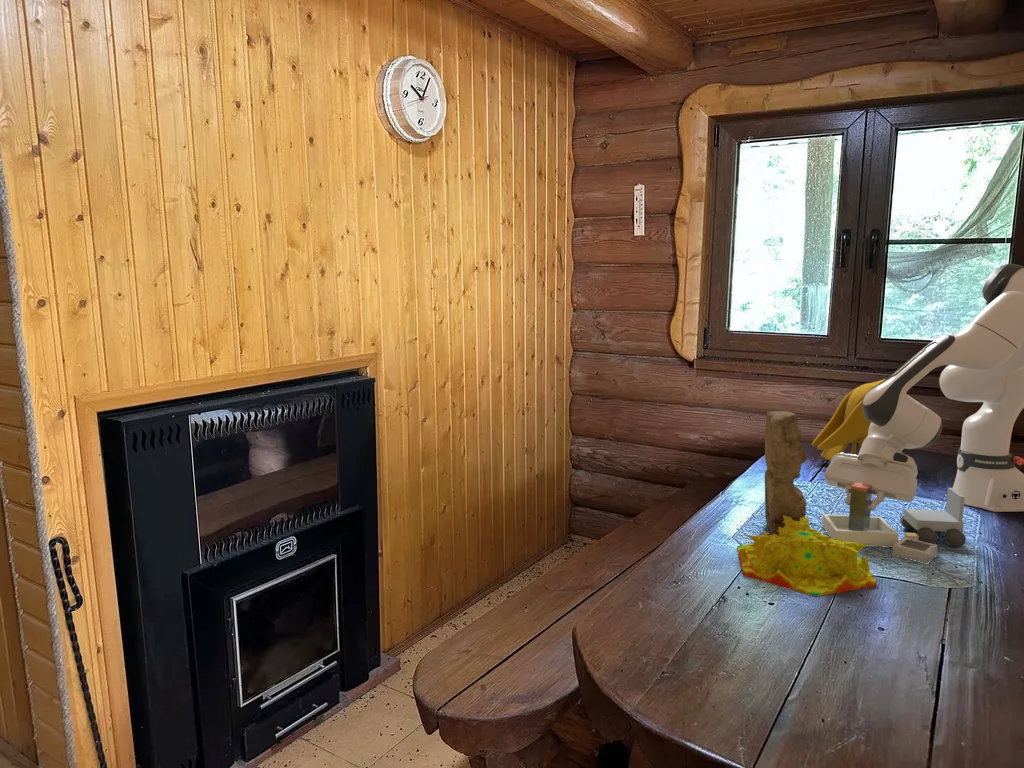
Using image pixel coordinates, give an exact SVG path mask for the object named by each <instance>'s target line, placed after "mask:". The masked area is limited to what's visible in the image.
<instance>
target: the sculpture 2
mask: <svg viewBox="0 0 1024 768" xmlns="http://www.w3.org/2000/svg"><path fill="white" fill-rule="evenodd" d="M886 379H887V378H884V379H881V380H877V381H873V382H870V383H869V382H868V383H864V384H862V385H860V386H857V387H855V388H854V389H853V390H851V391H850V392H849V393H848V394H846V395H845V396H844V397H843V399H842V401H841V402H840V403H839V404H838V406H837V408H836V410H835V412H834V413H833V416H832V417H831V419H830V420H829V421H828V422H827V424H826V425H825V426H824V427H823V429H821V431H820V432H819V434H818V435H817V436H816V437H815V438H814V440H813V441H812V443H811V446H812V447H816V449H817V450H819V451H822V450H823V451H822V452H821V453H820V456H821V458H823V459H825V460H828V461H831V459H832V457H833V456H834V455H836V454H840V453H845V451H846V449H847V447H848V446H849V445H850V444H851V443H852V446H851V451H850V453H849V454H853V455H857V453H856V450H857V443H858V445H859V449H861V446H862V444H863V441H864V440H865V439H866V438H867V436H868V429H869V426H870V424H871V422H870V421H868V420H867V419H865V417H864V414H863V409H862V400H863V398H864V397H865V395H866V394H867V393H868V392H869V391H870V390H871V389H872V388H874V387H875V386H877V385H878V384H880V383H881V382H883V381H884V380H886ZM838 456H840V455H838Z"/></svg>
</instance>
